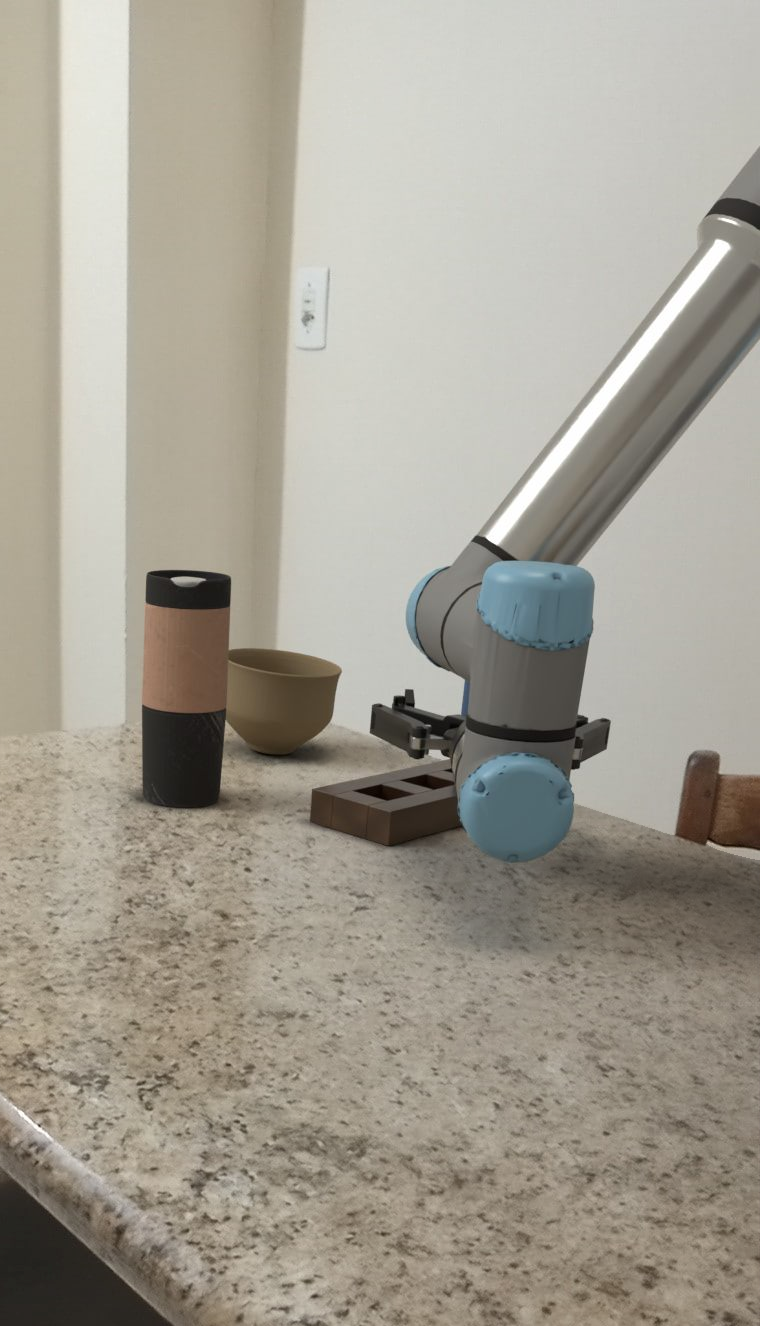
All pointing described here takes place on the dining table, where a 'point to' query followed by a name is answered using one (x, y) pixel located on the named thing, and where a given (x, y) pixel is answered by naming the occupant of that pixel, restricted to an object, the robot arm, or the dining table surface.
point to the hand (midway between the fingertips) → (482, 708)
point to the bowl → (279, 697)
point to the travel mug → (184, 686)
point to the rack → (390, 804)
